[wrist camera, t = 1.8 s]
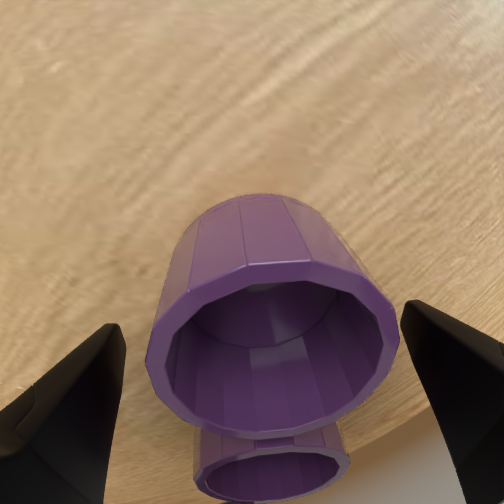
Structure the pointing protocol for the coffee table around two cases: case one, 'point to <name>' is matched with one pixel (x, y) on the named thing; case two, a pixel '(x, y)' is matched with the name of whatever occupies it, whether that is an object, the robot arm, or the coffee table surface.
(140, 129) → the coffee table surface
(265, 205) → the plum dish
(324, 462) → the plum dish
